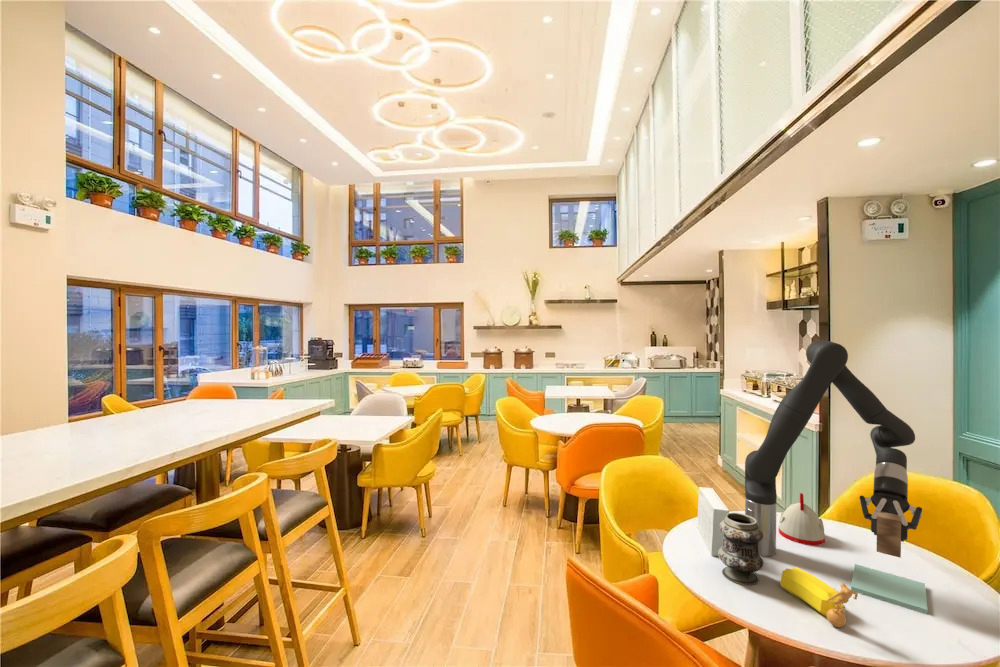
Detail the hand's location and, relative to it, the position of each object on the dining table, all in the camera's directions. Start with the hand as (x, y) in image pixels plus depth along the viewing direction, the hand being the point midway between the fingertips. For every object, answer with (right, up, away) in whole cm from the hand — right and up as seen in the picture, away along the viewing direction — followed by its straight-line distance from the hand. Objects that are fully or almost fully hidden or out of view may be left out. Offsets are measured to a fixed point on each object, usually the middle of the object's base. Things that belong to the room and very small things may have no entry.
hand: (888, 536), depth 123 cm
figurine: (-21, -19, -10) cm, 30 cm away
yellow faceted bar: (-21, -19, +1) cm, 28 cm away
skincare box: (-32, -18, +35) cm, 51 cm away
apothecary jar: (-34, -18, +13) cm, 41 cm away
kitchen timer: (+2, -18, +39) cm, 43 cm away
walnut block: (+1, -5, +1) cm, 5 cm away
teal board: (+5, -18, +6) cm, 20 cm away
